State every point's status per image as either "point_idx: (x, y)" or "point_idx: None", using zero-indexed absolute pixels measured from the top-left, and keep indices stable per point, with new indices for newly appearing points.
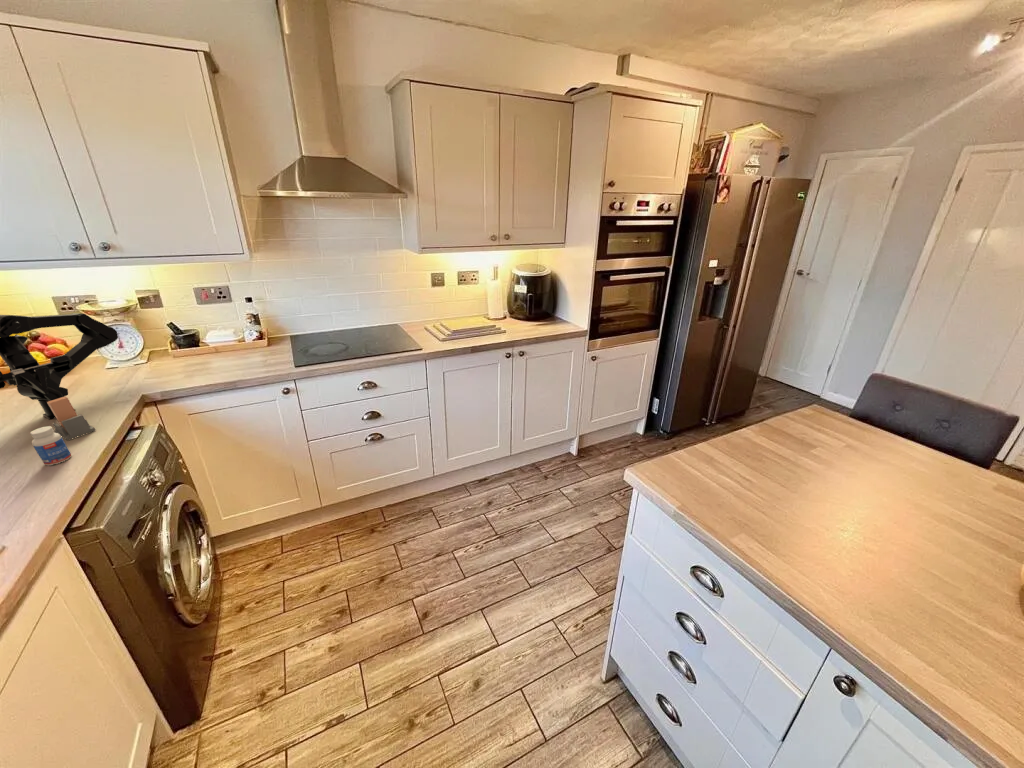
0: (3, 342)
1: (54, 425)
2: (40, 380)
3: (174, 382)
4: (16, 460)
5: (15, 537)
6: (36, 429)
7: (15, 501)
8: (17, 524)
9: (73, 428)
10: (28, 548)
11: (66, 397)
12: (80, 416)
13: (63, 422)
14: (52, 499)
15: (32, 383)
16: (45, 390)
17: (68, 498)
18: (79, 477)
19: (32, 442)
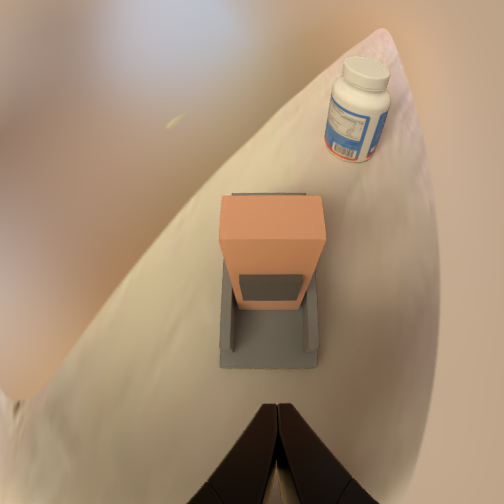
0: None
1: (317, 324)
2: (259, 496)
3: None
4: (425, 241)
5: (391, 46)
6: (378, 76)
7: (404, 89)
8: (393, 57)
9: None
10: (379, 33)
11: (223, 204)
12: (241, 194)
13: (302, 195)
14: None
15: (357, 492)
16: (276, 414)
17: (347, 51)
18: (329, 72)
19: (388, 92)
